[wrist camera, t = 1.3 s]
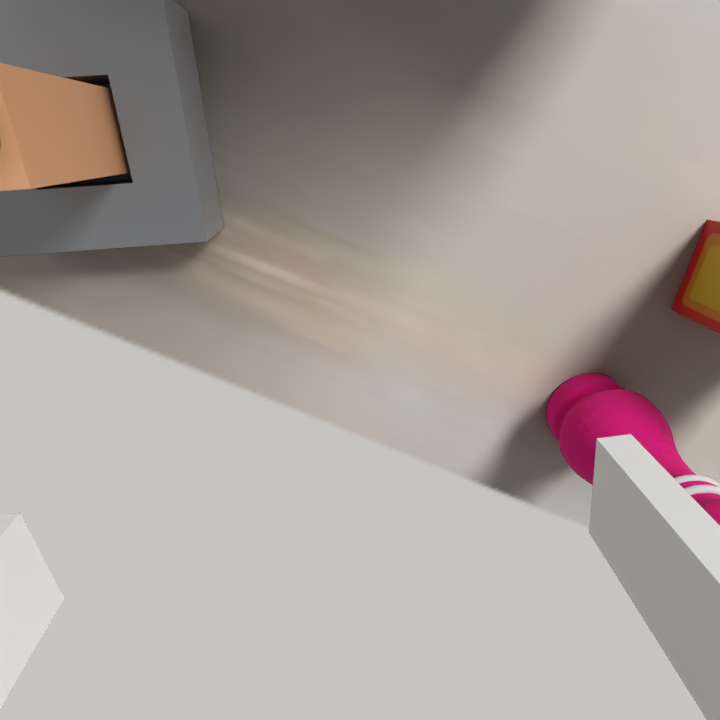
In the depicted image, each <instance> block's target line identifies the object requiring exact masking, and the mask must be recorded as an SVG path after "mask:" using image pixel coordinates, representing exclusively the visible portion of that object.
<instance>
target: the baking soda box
mask: <svg viewBox="0 0 720 720" xmlns="http://www.w3.org/2000/svg"><path fill="white" fill-rule="evenodd" d="M672 310H674V311H676V312H678V313H680V314H682V315H684V316H686V317H688V318H690V319H692V320H694V321H696V322H698V323H700V324H702V325H704V326H706V327H708V328H710V329H712V330H714V331H716V332H718V333H720V222H718V221H712V220H707V221H706V224H705V226H704V229H703V231H702V234H701V236H700V239H699V241H698V244H697V246H696V249H695V251H694V254H693V256H692V259H691V261H690V264H689V266H688V269H687V271H686V274H685V276H684V279H683V281H682V284H681V286H680V289H679V291H678V294H677V296H676V299H675V301H674V304H673V306H672Z"/></svg>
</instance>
